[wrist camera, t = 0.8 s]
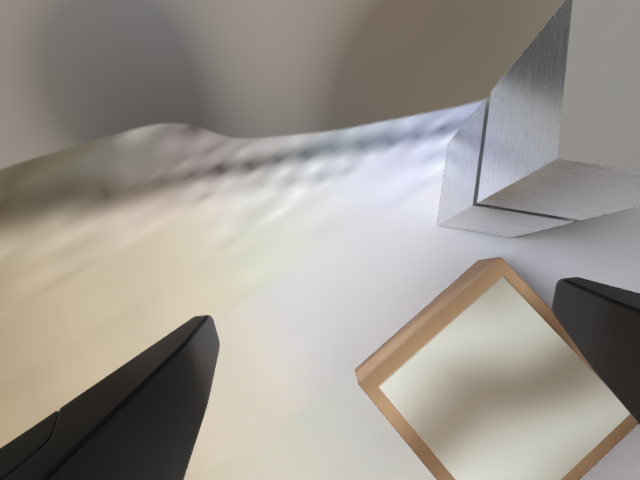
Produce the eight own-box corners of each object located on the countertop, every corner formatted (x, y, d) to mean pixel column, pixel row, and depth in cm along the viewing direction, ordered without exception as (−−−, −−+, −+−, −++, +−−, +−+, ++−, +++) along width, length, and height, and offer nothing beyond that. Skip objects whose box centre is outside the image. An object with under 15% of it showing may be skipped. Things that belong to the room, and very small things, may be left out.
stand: (602, 393, 20) (654, 414, 17) (474, 513, 19) (501, 559, 16) (477, 260, 21) (503, 256, 18) (355, 369, 21) (358, 385, 18)
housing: (510, 238, 21) (727, 184, 10) (436, 225, 22) (557, 158, 10) (520, 154, 22) (733, 7, 10) (448, 143, 23) (573, -10, 11)
